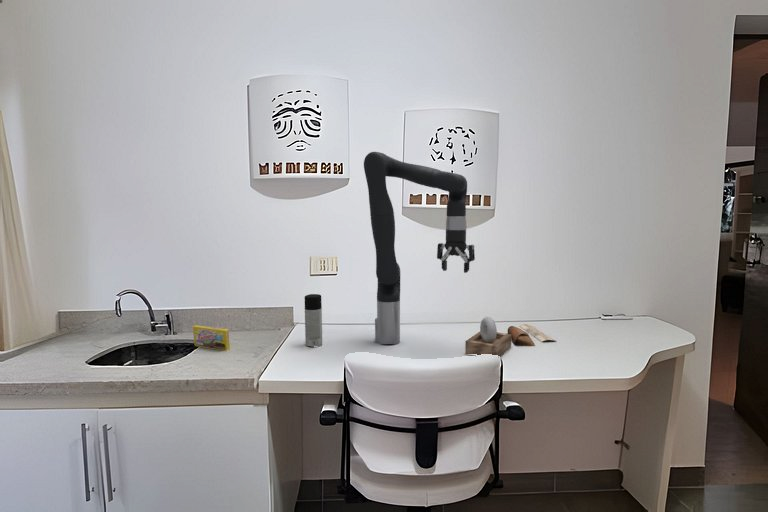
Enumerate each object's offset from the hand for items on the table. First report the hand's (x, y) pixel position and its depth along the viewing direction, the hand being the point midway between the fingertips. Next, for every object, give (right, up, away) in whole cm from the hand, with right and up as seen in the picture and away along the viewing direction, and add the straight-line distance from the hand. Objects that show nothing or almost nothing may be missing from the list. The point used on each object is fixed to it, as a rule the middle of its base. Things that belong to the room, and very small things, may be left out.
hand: (455, 271), depth 169 cm
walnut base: (+13, -30, +1) cm, 33 cm away
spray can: (-55, -30, +9) cm, 63 cm away
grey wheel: (+13, -27, +1) cm, 30 cm away
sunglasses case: (+29, -29, +15) cm, 44 cm away
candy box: (-94, -30, +6) cm, 99 cm away
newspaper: (+38, -28, +23) cm, 53 cm away
